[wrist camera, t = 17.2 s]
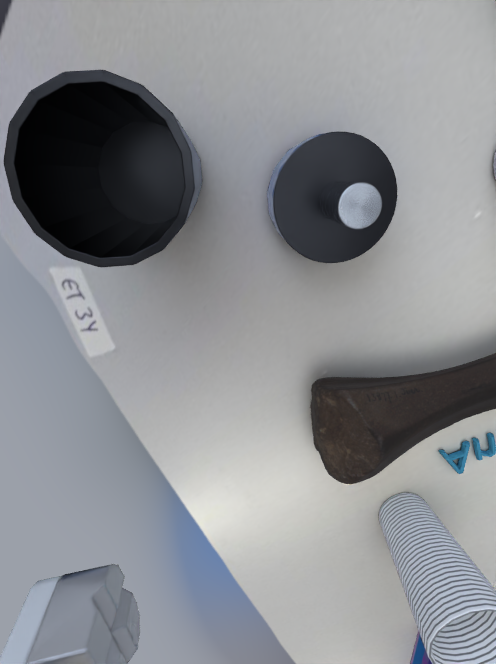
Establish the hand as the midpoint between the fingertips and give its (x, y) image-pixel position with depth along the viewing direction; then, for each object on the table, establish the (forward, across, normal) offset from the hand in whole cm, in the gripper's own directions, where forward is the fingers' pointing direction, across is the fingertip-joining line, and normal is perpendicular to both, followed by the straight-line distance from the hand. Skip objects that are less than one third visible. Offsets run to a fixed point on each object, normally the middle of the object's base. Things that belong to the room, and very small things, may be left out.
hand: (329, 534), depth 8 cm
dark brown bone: (+33, -16, +18) cm, 41 cm away
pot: (+33, +6, -8) cm, 35 cm away
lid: (+29, -8, -3) cm, 30 cm away
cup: (+33, -12, +36) cm, 50 cm away
